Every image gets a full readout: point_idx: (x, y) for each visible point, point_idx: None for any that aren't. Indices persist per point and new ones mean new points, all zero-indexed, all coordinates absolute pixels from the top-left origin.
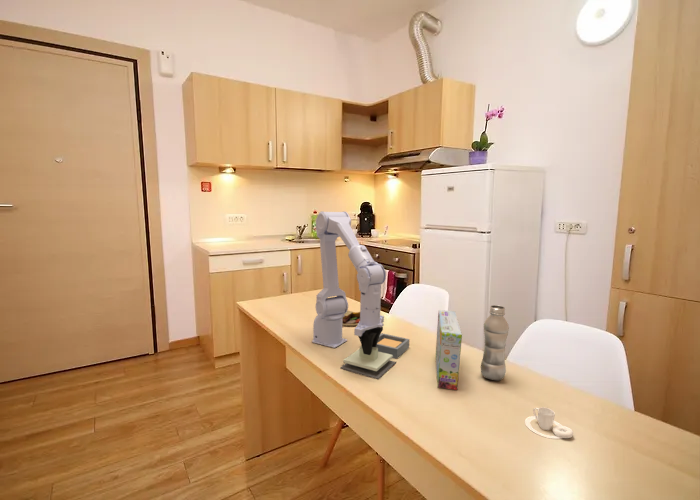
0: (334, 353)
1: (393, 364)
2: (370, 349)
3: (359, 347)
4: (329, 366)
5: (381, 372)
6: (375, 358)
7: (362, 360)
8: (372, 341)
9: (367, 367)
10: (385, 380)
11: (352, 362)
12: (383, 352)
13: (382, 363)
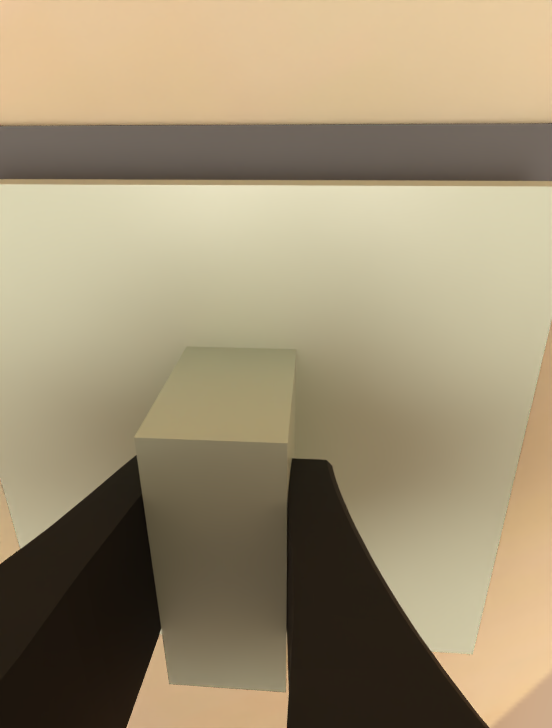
0: (210, 720)
1: (43, 126)
2: (349, 523)
3: (286, 677)
4: (469, 665)
5: (381, 164)
6: (266, 357)
7: (387, 484)
8: (360, 680)
9: (534, 347)
10: (546, 11)
11: (492, 556)
12: None
13: (337, 188)
